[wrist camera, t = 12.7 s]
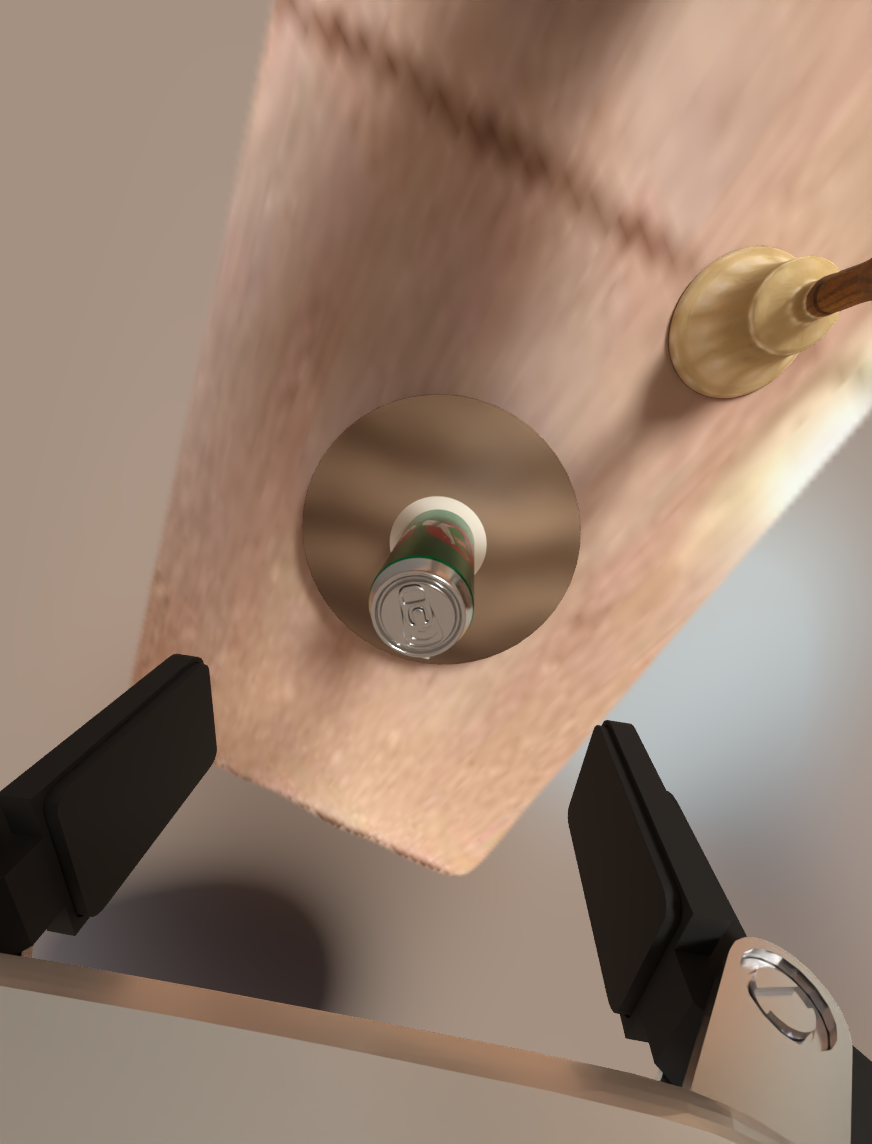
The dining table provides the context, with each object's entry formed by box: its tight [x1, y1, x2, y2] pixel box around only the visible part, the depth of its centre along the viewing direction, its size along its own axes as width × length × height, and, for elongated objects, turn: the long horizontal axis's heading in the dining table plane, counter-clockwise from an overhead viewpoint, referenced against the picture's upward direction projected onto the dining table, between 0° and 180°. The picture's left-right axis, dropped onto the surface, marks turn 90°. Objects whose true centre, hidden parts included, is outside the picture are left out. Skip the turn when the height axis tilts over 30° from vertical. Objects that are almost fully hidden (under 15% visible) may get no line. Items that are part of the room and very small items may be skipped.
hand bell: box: [669, 246, 872, 398], centre depth 19 cm, size 8×8×16 cm
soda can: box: [368, 509, 474, 658], centre depth 24 cm, size 5×5×12 cm
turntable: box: [302, 394, 581, 664], centre depth 31 cm, size 20×20×2 cm
